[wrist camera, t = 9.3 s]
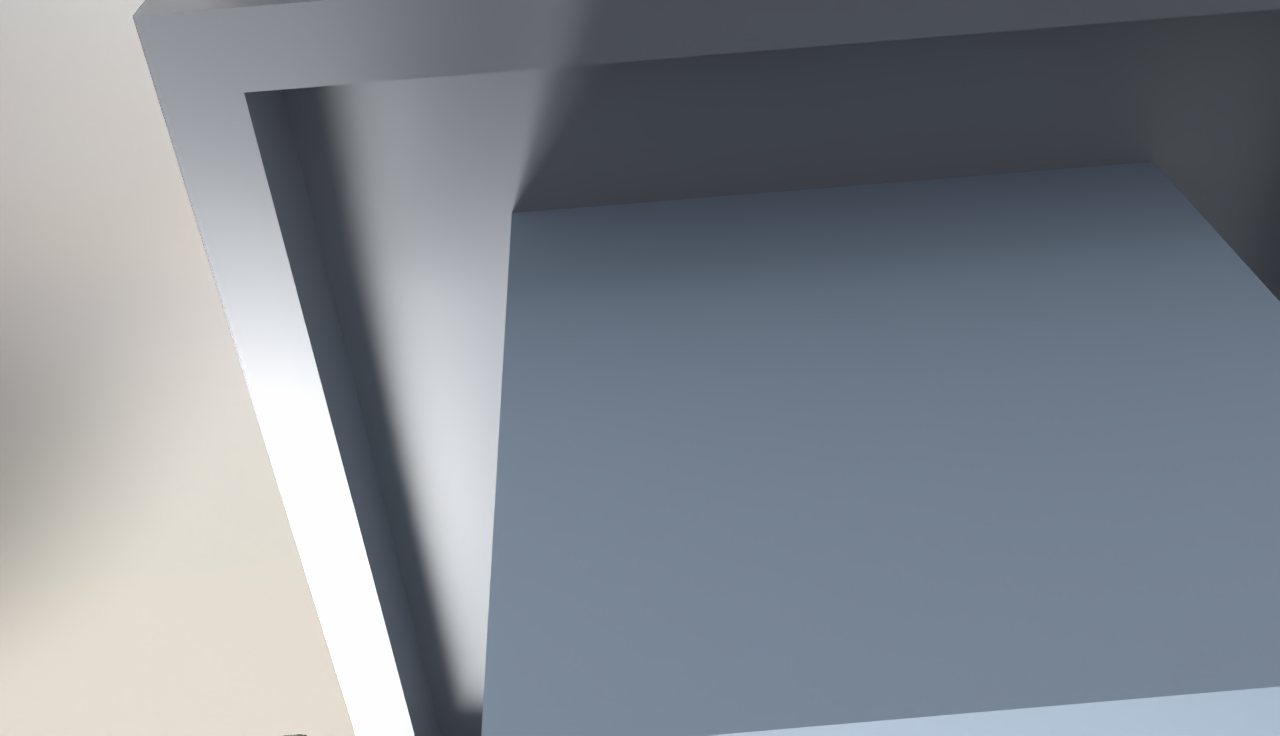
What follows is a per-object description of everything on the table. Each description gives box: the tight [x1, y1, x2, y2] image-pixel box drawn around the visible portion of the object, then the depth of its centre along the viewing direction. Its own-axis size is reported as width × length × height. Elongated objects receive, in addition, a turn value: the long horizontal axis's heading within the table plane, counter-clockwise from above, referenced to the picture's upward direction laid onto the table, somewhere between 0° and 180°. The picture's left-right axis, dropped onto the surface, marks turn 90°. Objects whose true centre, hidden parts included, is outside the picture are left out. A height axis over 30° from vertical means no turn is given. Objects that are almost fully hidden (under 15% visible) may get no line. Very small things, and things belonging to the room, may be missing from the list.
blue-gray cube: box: [481, 162, 1280, 736], centre depth 10 cm, size 6×6×6 cm
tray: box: [133, 0, 1280, 736], centre depth 12 cm, size 10×10×2 cm
